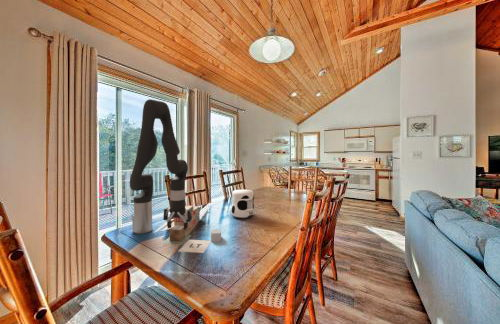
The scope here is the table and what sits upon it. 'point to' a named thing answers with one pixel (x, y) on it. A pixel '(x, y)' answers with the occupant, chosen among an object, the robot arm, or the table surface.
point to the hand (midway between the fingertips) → (177, 228)
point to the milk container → (243, 203)
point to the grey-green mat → (176, 241)
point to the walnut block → (177, 233)
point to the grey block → (215, 235)
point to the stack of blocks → (195, 216)
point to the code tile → (195, 246)
